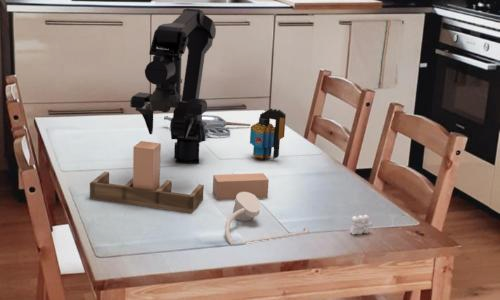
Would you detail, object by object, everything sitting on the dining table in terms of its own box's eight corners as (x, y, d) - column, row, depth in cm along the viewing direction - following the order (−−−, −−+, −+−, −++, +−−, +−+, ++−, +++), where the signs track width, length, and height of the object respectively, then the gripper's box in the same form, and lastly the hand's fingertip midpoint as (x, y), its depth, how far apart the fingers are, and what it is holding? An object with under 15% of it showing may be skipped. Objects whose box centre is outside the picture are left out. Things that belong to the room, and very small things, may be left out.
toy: (245, 159, 234) (248, 108, 229) (258, 150, 242) (261, 101, 238) (277, 165, 231) (280, 113, 226) (288, 156, 239) (292, 106, 235)
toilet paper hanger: (232, 244, 176) (203, 197, 188) (227, 261, 179) (199, 213, 190) (312, 231, 186) (279, 186, 197) (306, 247, 189) (275, 202, 200)
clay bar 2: (262, 191, 211) (263, 173, 209) (267, 198, 206) (268, 179, 204) (212, 193, 207) (213, 174, 206) (216, 200, 203) (217, 181, 201)
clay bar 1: (140, 191, 202) (141, 141, 198) (159, 194, 201) (160, 143, 197) (132, 198, 198) (133, 146, 194) (152, 201, 197) (153, 149, 193)
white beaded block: (352, 235, 186) (355, 217, 185) (348, 233, 187) (351, 214, 186) (370, 234, 188) (373, 216, 187) (367, 232, 189) (370, 214, 188)
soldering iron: (170, 144, 247) (162, 125, 261) (259, 149, 255) (246, 130, 269) (172, 126, 244) (164, 107, 259) (262, 132, 252) (249, 113, 267)
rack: (104, 186, 207) (104, 171, 206) (203, 200, 202) (203, 184, 201) (89, 198, 199) (89, 182, 197) (192, 213, 193) (192, 197, 192)
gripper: (122, 78, 200) (121, 140, 205) (195, 87, 196) (193, 149, 201) (138, 70, 210) (137, 128, 215) (208, 77, 207) (206, 137, 211)
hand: (167, 136), depth 210 cm, fingers open, 9 cm apart
